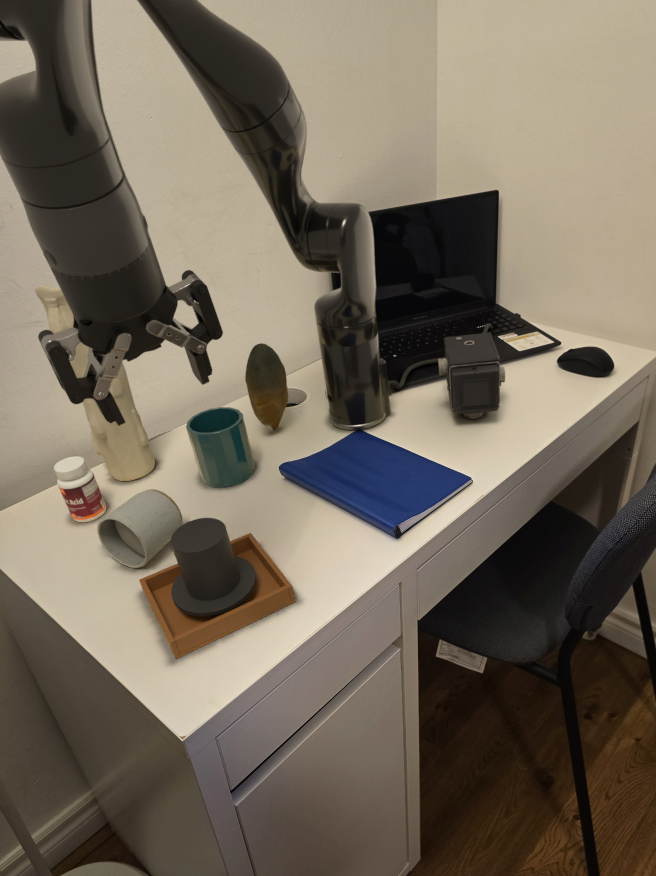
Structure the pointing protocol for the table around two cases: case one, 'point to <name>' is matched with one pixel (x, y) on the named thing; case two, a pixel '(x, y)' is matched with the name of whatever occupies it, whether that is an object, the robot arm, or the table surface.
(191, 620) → the tray
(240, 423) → the cup
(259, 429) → the table surface
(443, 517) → the table surface
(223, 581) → the flanged dark cylinder
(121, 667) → the table surface
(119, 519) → the ceramic mug
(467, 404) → the camera
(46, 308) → the vase
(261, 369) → the decorative stone
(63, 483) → the pill bottle
